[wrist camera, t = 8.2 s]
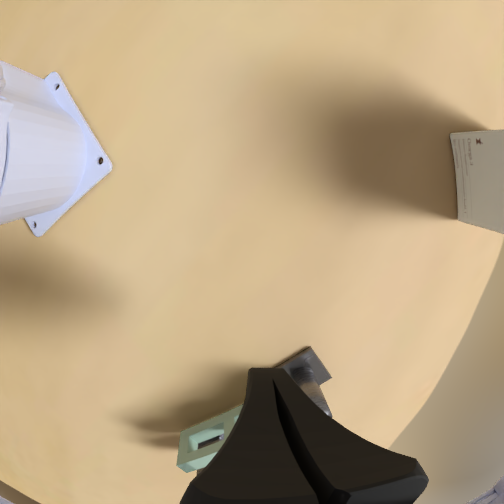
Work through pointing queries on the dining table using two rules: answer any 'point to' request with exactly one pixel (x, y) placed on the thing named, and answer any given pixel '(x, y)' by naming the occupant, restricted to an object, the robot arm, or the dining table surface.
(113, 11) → the dining table surface
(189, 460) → the gate
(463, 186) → the supplement box
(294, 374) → the hinge post
